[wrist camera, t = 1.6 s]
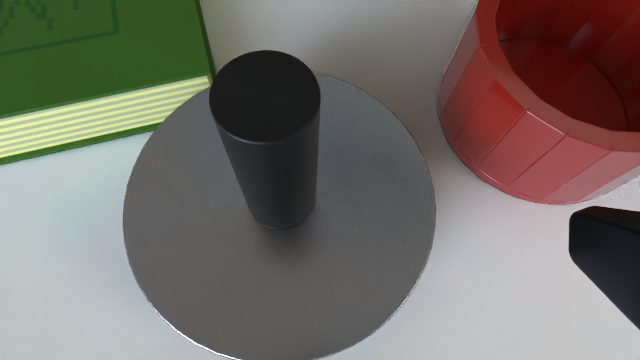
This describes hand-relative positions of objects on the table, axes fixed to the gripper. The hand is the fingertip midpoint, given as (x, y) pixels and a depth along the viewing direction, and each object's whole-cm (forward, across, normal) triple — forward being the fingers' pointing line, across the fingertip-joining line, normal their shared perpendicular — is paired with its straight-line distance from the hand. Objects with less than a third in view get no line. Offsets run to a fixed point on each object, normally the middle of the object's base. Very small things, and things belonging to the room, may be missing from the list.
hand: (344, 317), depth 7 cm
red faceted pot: (+14, -15, +4) cm, 21 cm away
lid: (+11, 0, +3) cm, 11 cm away
